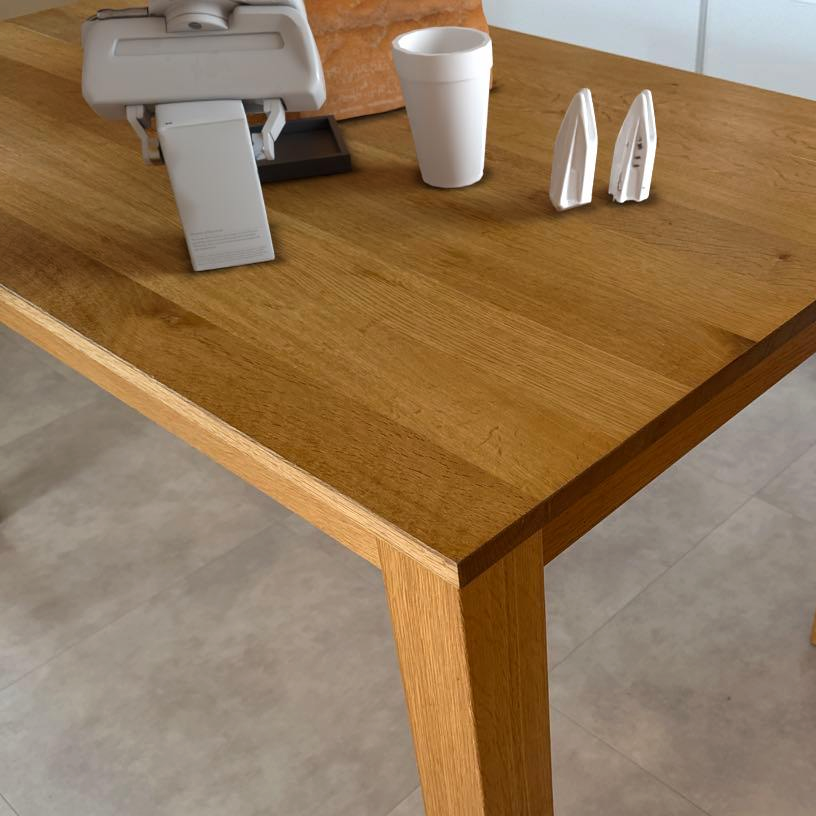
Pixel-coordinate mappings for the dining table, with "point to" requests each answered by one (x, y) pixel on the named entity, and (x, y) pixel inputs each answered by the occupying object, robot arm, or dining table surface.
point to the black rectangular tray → (305, 150)
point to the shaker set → (580, 151)
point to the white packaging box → (215, 182)
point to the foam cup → (446, 100)
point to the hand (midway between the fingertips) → (209, 160)
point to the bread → (373, 48)
